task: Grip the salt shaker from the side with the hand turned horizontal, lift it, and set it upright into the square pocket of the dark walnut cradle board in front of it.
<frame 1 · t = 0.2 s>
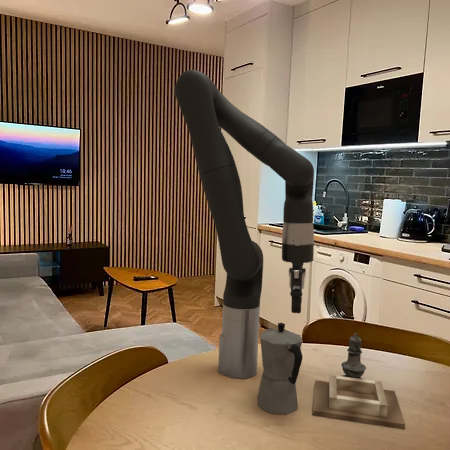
hand: (296, 308, 108), 18 cm above the table, tool pointing down, fingers open, 8 cm apart
cradle: (355, 404, 98), on the table
coffeepot: (279, 407, 95), on the table
salt shaker: (352, 380, 110), on the table
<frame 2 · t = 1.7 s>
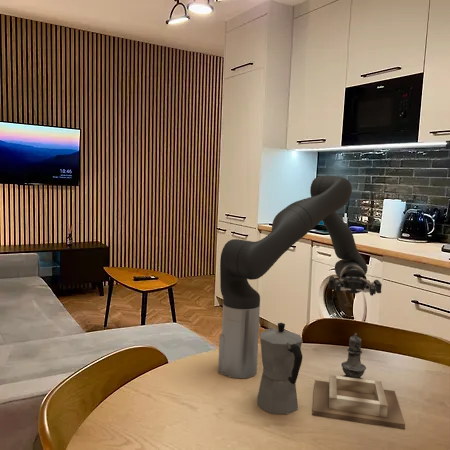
hand: (355, 290, 120), 20 cm above the table, tool horizontal, fingers open, 8 cm apart
nothing on the table moved.
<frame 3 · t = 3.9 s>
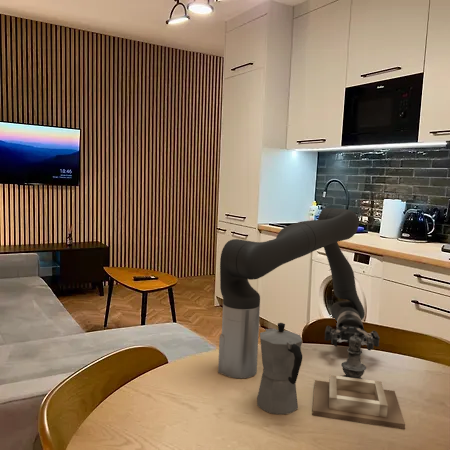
hand: (352, 344, 116), 6 cm above the table, tool horizontal, fingers open, 8 cm apart
nothing on the table moved.
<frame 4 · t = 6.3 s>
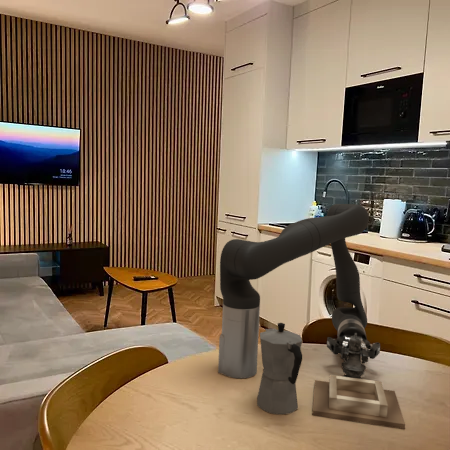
hand: (355, 358, 107), 7 cm above the table, tool horizontal, fingers closed on salt shaker, 3 cm apart
salt shaker: (352, 380, 110), on the table, touching gripper
everything else where it was.
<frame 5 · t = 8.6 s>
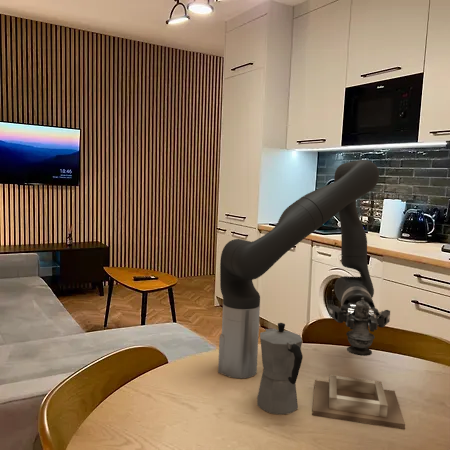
hand: (362, 325, 93), 19 cm above the table, tool horizontal, fingers closed on salt shaker, 3 cm apart
salt shaker: (359, 351, 97), point 12 cm above the table, touching gripper
everything else where it was.
when the fingers open (9 cm above the table, at t = 11.1 s): salt shaker drops 1 cm, resting on cradle.
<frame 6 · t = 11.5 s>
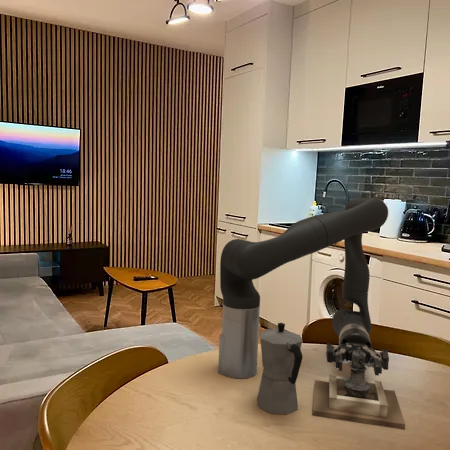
hand: (358, 368, 95), 9 cm above the table, tool horizontal, fingers open, 7 cm apart
salt shaker: (355, 400, 98), point 1 cm above the table, touching cradle
everything else where it was.
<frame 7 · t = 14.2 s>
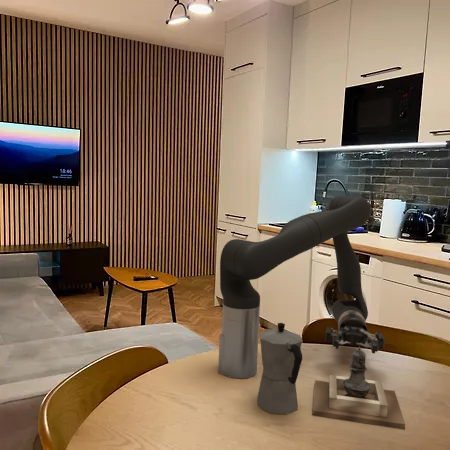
hand: (355, 347, 107), 9 cm above the table, tool horizontal, fingers open, 8 cm apart
nothing on the table moved.
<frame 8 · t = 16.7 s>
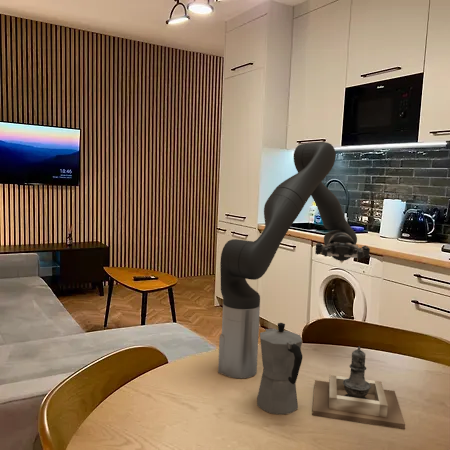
hand: (342, 253, 116), 30 cm above the table, tool horizontal, fingers open, 8 cm apart
nothing on the table moved.
at the end: salt shaker 0.1 cm off-centre on the cradle, point 0.8 cm above the cradle's base; salt shaker tilted 1°; the gripper is holding nothing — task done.
